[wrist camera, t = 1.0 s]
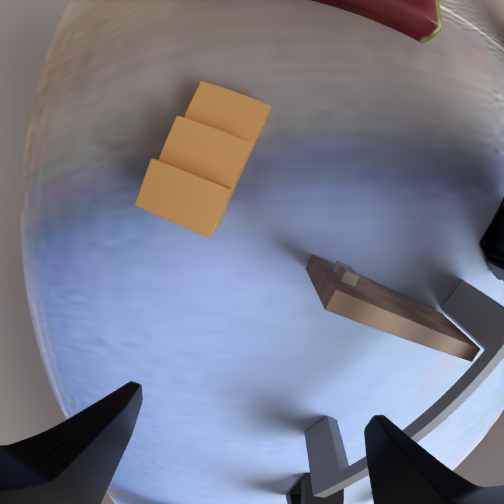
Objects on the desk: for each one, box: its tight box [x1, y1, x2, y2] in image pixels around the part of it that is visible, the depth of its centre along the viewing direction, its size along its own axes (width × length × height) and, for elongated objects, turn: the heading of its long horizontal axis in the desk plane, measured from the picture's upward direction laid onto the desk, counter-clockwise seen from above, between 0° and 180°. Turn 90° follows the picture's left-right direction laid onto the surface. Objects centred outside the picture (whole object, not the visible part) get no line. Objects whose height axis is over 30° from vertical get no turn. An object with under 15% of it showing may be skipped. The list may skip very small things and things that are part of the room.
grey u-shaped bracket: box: [305, 280, 504, 498], centre depth 19 cm, size 23×2×9 cm, turn 142°
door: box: [306, 255, 480, 361], centre depth 17 cm, size 15×2×7 cm, turn 67°
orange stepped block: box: [135, 81, 271, 238], centre depth 17 cm, size 9×5×4 cm, turn 156°
